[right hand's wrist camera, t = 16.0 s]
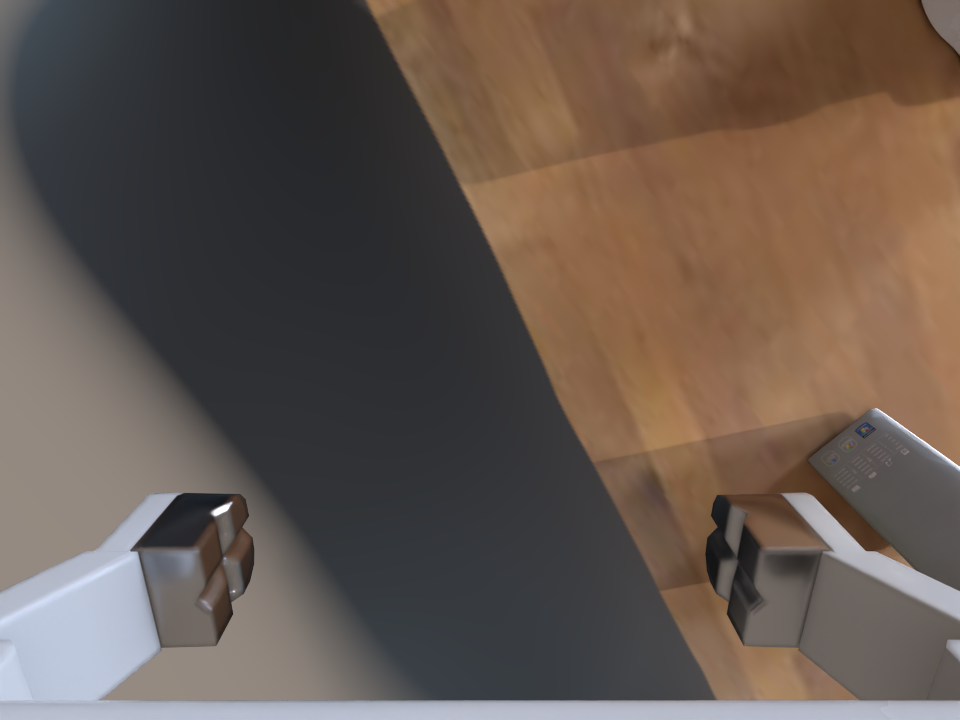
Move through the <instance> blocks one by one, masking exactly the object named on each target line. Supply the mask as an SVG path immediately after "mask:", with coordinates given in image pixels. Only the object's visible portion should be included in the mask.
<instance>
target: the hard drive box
mask: <svg viewBox="0 0 960 720" xmlns="http://www.w3.org/2000/svg"><path fill="white" fill-rule="evenodd" d="M808 462H809V463H810V464H811V465H812V466H813V467H814V468H815V469H816V471H817V472H818V473H819V474H820V475H821V476H822V477H823V478H824V479H825V480H826V481H827V482H828V483H829V484H830V485H831V486H832V487H833V488H834V489H835V490H836V491H837V492H838V493H839V494H840V495H841V496H842V497H843V498H844V499H845V500H846V501H847V502H848V503H849V504H850V505H851V506H852V507H853V508H854V509H855V510H856V511H857V512H858V513H859V514H860V515H861V516H862V517H863V518H864V519H865V520H866V521H867V522H868V523H869V524H870V525H871V526H872V527H873V528H874V529H875V530H876V531H877V532H878V533H879V534H880V535H881V536H882V537H883V538H884V539H885V540H886V541H887V542H888V543H889V544H890V545H891V546H892V547H893V548H894V549H895V550H896V551H897V552H898V553H899V554H900V555H901V556H902V557H903V558H904V559H905V560H906V561H907V562H908V563H909V564H910V565H911V566H912V567H913V568H914V569H915V570H916V571H918V572H920V573H922V574H924V575H926V576H928V577H931V578H933V579H935V580H937V581H939V582H941V583H943V584H945V585H947V586H949V587H952V588H954V589H956V590H958V591H960V467H959V466H957V465H956V464H955V463H953V462H952V461H951V460H949V459H948V458H946V457H945V456H944V455H942V454H941V453H939V452H938V451H937V450H935V449H934V448H932V447H931V446H930V445H928V444H927V443H925V442H924V441H923V440H921V439H920V438H918V437H917V436H916V435H914V434H913V433H911V432H910V431H908V430H907V429H906V428H904V427H903V426H902V425H900V424H899V423H897V422H896V421H895V420H893V419H892V418H890V417H889V416H887V415H886V414H884V413H883V412H881V411H880V410H878V409H877V408H875V409H870V410H869V411H868V412H867V413H865V414H864V415H863V416H861V417H860V418H859V419H858V420H856V421H855V422H854V423H853V424H851V425H850V426H849V427H848V428H846V429H845V430H844V431H843V432H841V433H840V434H839V435H838V436H836V437H835V438H834V439H833V440H831V441H830V442H829V443H827V444H826V445H825V446H824V447H822V448H821V449H820V450H819V451H817V452H816V453H815V454H814V455H812V456H811V457H810V458H809V459H808Z"/></svg>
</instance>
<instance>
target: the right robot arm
mask: <svg viewBox="0 0 960 720" xmlns="http://www.w3.org/2000/svg"><path fill="white" fill-rule="evenodd" d="M921 1H922V4H923V7H924V10H925V13H926V15H927V17H928V19H929V21H930V22H931V24H932V26H933V27H934V28H935V30H936V31H937V32H938V34H939V35H940V36H941V37H942V38H943V39H944V40H945V41H946V42H948V43H949V44H950V45H951V46H952V47H953V48H954V49H955V50H956V51H957V53H958V54H959V55H960V0H921ZM248 517H249V514H248V509H247V504H246V499H245V498H244V497H243V496H242V495H241V494H205V493H183V494H182V493H154V494H150V495H148V496H147V497H146V498H145V499H144V500H143V501H142V502H141V503H140V504H139V505H138V506H137V507H136V508H135V509H134V510H133V511H132V512H131V513H130V514H129V515H128V516H127V518H126V519H125V520H124V521H123V522H122V523H121V524H120V525H119V526H118V527H117V528H116V529H115V530H114V531H113V532H112V533H111V534H110V535H109V536H108V537H107V538H106V540H105V541H104V542H103V543H102V544H101V545H100V546H99V547H98V548H97V549H96V550H95V551H85V552H82V553H80V554H78V555H76V556H74V557H72V558H70V559H67V560H65V561H63V562H61V563H59V564H57V565H55V566H53V567H51V568H48V569H46V570H44V571H42V572H40V573H38V574H36V575H34V576H31V577H30V578H27V579H25V580H23V581H21V582H19V583H17V584H15V585H12V586H10V587H8V588H6V589H4V590H2V591H0V720H960V591H958V590H956V589H954V588H952V587H949V586H947V585H945V584H943V583H941V582H939V581H937V580H935V579H933V578H931V577H928V576H926V575H924V574H922V573H920V572H918V571H916V570H914V569H912V568H909V567H907V566H905V565H903V564H901V563H899V562H897V561H895V560H893V559H890V558H888V557H886V556H884V555H882V554H880V553H878V552H876V551H865V550H864V549H863V548H862V547H861V546H860V545H859V544H858V543H857V542H856V541H855V539H854V538H853V537H852V536H851V535H850V534H849V533H848V532H847V531H846V530H845V529H844V528H843V527H842V526H841V525H840V524H839V523H838V522H837V521H836V520H835V518H834V517H833V516H832V515H831V514H830V513H829V512H828V511H827V510H826V509H825V508H824V507H823V506H822V505H821V504H820V503H819V502H818V501H817V500H816V498H815V497H814V496H812V495H810V494H808V493H777V494H747V495H717V497H716V499H715V501H714V503H713V508H712V513H711V517H712V518H713V520H714V521H715V523H716V525H717V526H718V527H717V529H716V530H715V531H714V532H713V533H712V534H711V535H710V536H709V537H708V538H707V546H706V564H707V572H708V575H709V579H710V582H711V584H712V586H713V588H714V590H715V592H716V594H717V595H719V596H720V597H722V598H723V599H725V600H726V601H728V602H729V605H728V610H727V615H728V617H729V619H730V621H731V623H732V625H733V626H734V628H735V630H736V632H737V634H738V636H739V638H740V640H741V641H742V643H743V645H744V646H759V647H794V648H799V649H798V650H799V651H800V652H801V653H802V654H804V655H805V656H806V657H807V658H809V659H810V660H811V661H812V662H814V663H815V664H816V665H817V666H818V667H820V668H821V669H822V670H823V671H825V672H826V673H827V674H828V675H829V676H831V677H832V678H833V679H834V680H836V681H837V682H838V683H839V684H841V685H842V686H843V687H844V688H845V689H847V690H848V691H849V692H850V693H852V694H853V695H854V696H855V697H856V698H858V699H859V700H781V701H413V700H410V701H409V700H372V701H371V700H366V701H365V700H357V701H356V700H354V701H353V700H348V701H347V700H338V701H335V700H330V701H329V700H319V701H317V700H316V701H315V700H311V701H310V700H295V701H294V700H287V701H285V700H284V701H283V700H282V701H279V700H274V701H273V700H272V701H271V700H269V701H268V700H267V701H266V700H265V701H261V700H259V701H258V700H257V701H256V700H255V701H254V700H251V701H102V700H101V699H102V698H104V697H105V696H106V695H107V694H109V693H110V692H111V691H112V690H113V689H115V688H116V687H117V686H118V685H120V684H121V683H122V682H123V681H125V680H126V679H127V678H128V677H129V676H131V675H132V674H133V673H134V672H136V671H137V670H138V669H139V668H141V667H142V666H143V665H144V664H145V663H147V662H148V661H149V660H150V659H152V658H153V657H154V656H155V655H156V654H158V653H159V652H160V651H161V648H165V647H200V646H216V645H217V643H218V641H219V640H220V638H221V636H222V634H223V632H224V630H225V628H226V626H227V625H228V623H229V621H230V619H231V617H232V615H233V610H232V605H231V602H232V601H234V600H235V599H237V598H238V597H240V596H241V595H243V594H244V592H245V590H246V588H247V586H248V584H249V582H250V579H251V575H252V570H253V566H254V545H253V538H252V537H251V536H250V535H249V534H248V533H247V532H246V531H245V530H244V529H243V528H242V526H243V525H244V523H245V521H246V520H247V518H248Z"/></svg>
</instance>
